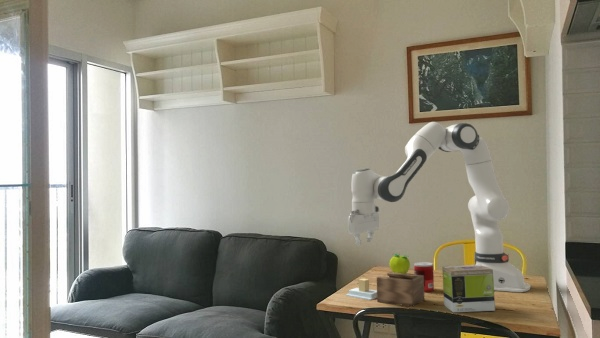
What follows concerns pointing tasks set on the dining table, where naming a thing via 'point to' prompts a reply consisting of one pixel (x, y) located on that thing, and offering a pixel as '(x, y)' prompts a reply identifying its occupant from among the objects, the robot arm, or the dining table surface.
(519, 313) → the dining table surface
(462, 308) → the tea box
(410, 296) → the box
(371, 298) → the lid
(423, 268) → the canned food
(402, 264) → the fruit
